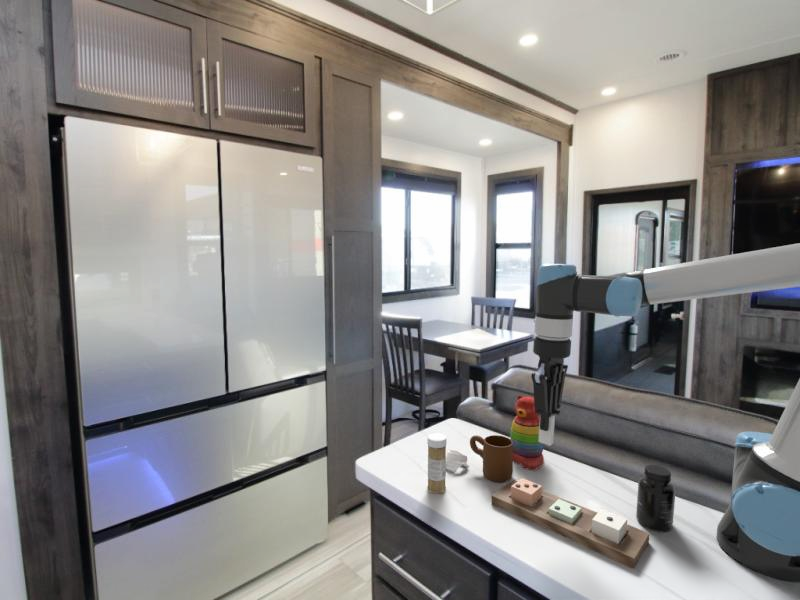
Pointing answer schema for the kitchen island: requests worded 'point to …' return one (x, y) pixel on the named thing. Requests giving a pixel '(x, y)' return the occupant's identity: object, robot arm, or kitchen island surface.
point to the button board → (575, 526)
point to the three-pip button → (526, 492)
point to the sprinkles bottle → (436, 463)
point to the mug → (495, 456)
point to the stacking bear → (526, 434)
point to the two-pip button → (565, 511)
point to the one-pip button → (609, 526)
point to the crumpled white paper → (455, 460)
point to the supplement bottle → (656, 499)
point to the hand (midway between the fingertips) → (545, 442)
